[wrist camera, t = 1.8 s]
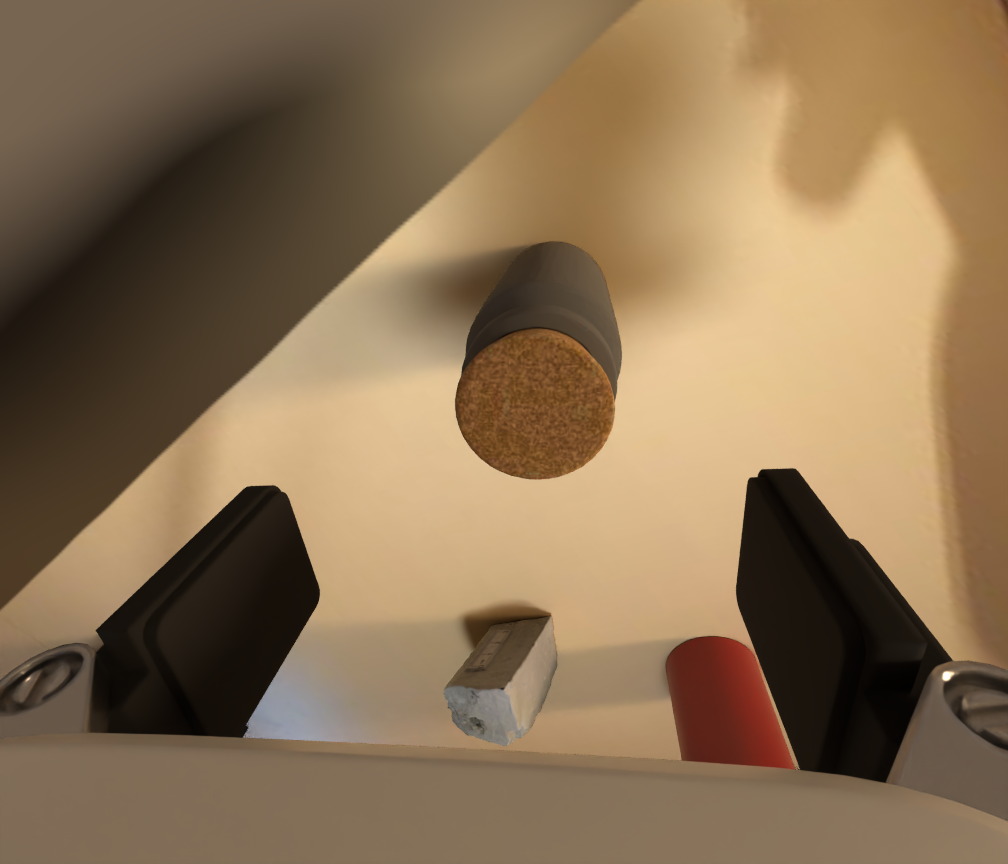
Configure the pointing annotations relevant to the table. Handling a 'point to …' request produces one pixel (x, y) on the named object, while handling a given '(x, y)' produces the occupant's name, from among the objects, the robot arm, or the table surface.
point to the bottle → (541, 366)
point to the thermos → (723, 706)
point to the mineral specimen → (504, 681)
